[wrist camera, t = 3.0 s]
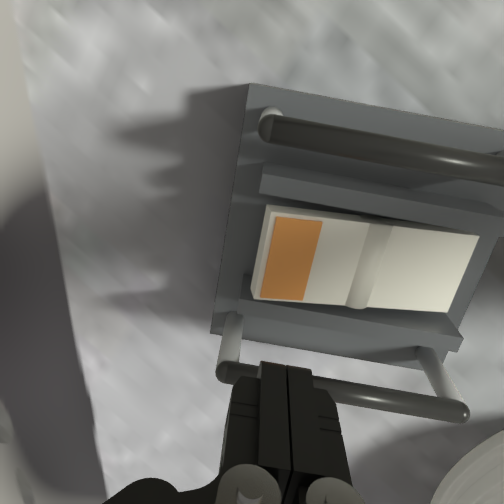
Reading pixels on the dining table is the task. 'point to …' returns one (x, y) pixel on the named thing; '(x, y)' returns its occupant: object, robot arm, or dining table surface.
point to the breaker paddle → (358, 260)
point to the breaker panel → (360, 203)
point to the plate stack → (476, 476)
